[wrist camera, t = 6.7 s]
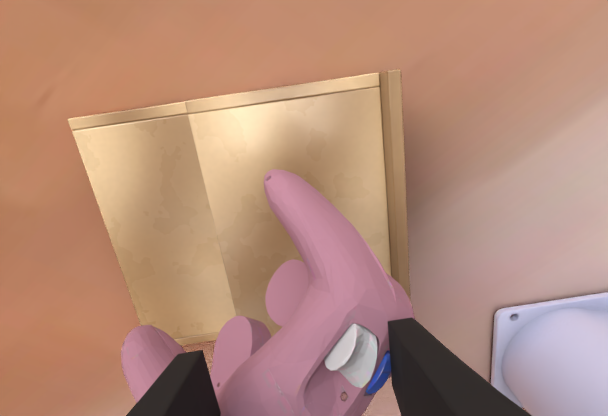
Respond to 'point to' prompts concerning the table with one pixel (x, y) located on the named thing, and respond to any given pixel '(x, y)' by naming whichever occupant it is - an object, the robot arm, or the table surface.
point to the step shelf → (241, 191)
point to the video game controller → (297, 322)
